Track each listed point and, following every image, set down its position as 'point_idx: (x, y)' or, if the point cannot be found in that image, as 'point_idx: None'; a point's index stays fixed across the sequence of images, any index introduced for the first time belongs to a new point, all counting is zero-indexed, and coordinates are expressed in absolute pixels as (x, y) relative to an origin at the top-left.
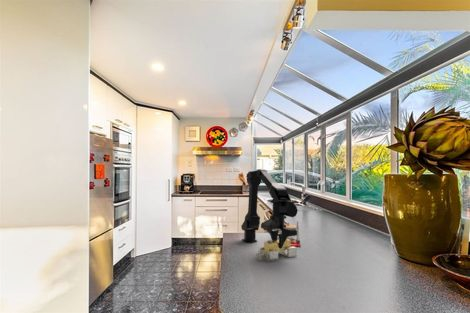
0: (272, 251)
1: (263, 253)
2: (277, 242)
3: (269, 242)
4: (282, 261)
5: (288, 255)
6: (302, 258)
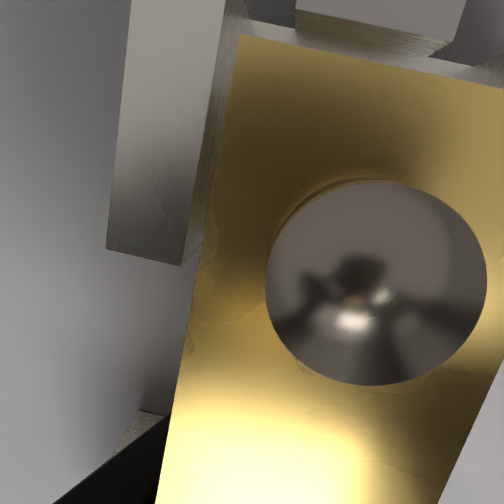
0: (154, 83)
1: (374, 3)
2: (165, 463)
3: (324, 191)
4: (94, 210)
5: (138, 429)
6: (26, 489)
